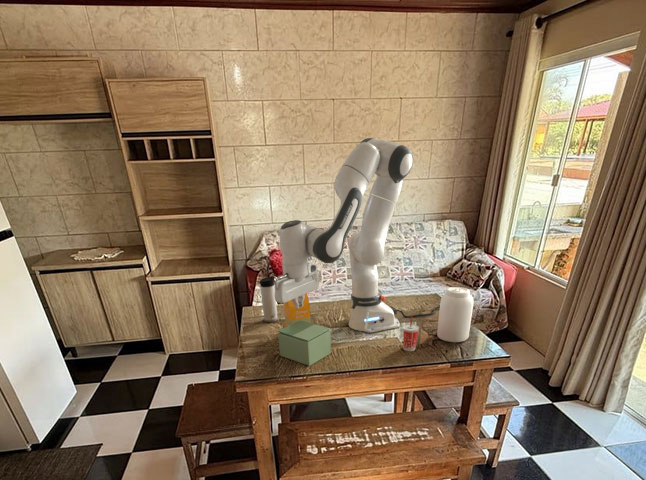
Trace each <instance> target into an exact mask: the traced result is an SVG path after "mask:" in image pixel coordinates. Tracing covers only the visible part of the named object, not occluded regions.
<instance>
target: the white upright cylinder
mask: <svg viewBox="0 0 646 480" xmlns="http://www.w3.org/2000/svg"><path fill="white" fill-rule="evenodd" d="M474 303H475V302H474V297H473V296H472V295H471V291H470V289H468V288H467V287H463V286H452V287H449V288H447V290H446V292H445V293H444V294H442V296H441V298H440V301H439V306H440V308H439V312H438V319H437V320H438V321H437V330H436V335H437V336H436V337H438V338H439V339H440V340H442V341H444V342H448V343H461V342H465V341H467V340H468V339H469V337H470V329H471V323H472V318H473V316H472V315H473V310H474Z"/></svg>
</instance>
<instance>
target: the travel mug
mask: <svg viewBox="0 0 646 480" xmlns="http://www.w3.org/2000/svg"><path fill="white" fill-rule="evenodd" d="M259 287H260V296H261V303H262V310H263V311H262V314H263V320H264V322H266V323H275V322H277V321H278V319H279V318H278V308H277V301H276V300H275V276H274V277H273V276H267V277H263V278H261V279H260V280H259Z"/></svg>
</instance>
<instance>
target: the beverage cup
mask: <svg viewBox="0 0 646 480" xmlns="http://www.w3.org/2000/svg"><path fill="white" fill-rule="evenodd" d="M412 315H413V314H410V316H411V317H410V322H409V324H408V323H407V324H404V325H403V326H402V333H403V334H402V335H403V337H402V338H403V340H402V341H403V342H402V346H403V347H402V348H403V350H404V351H405V352H414V351H415V350H416V348H417V341H418V333H419V331H420V327H419V326H418V325H417V324H413V317H412Z"/></svg>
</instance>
